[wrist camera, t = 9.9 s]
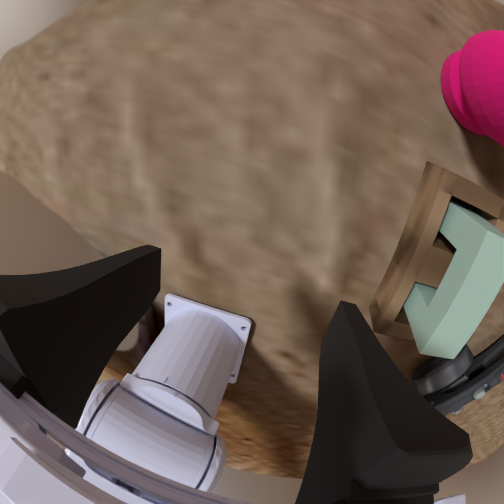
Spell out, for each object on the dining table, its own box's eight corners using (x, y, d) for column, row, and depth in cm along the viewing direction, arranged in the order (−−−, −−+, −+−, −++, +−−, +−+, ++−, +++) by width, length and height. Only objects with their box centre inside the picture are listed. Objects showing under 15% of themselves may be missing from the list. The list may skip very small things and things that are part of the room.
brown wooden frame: (430, 322, 20) (440, 345, 17) (369, 307, 21) (373, 332, 18) (491, 193, 14) (512, 205, 12) (426, 161, 15) (445, 168, 12)
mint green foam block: (426, 297, 19) (453, 359, 13) (397, 289, 19) (419, 353, 13) (467, 207, 15) (520, 247, 9) (437, 193, 16) (487, 230, 10)
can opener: (417, 396, 24) (424, 435, 20) (405, 363, 23) (415, 409, 18) (538, 328, 17) (558, 359, 12) (542, 284, 16) (569, 316, 11)
